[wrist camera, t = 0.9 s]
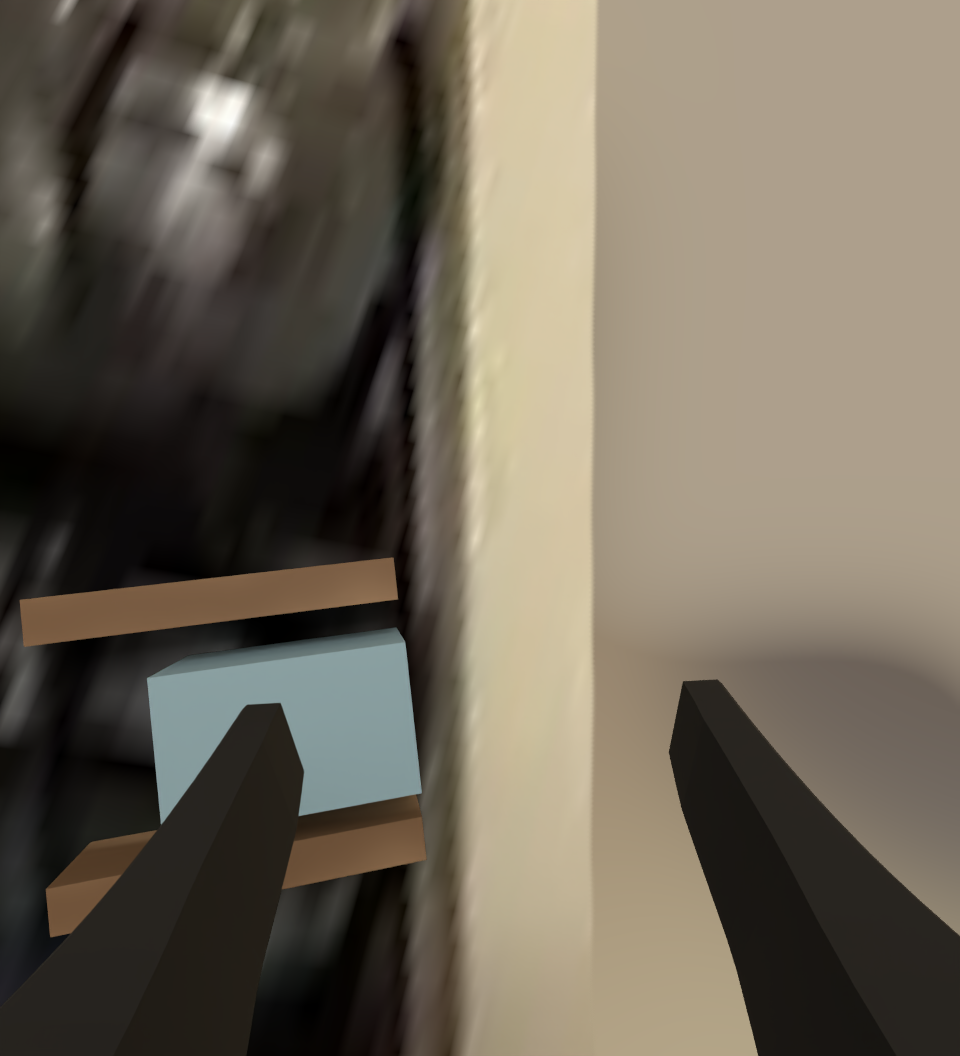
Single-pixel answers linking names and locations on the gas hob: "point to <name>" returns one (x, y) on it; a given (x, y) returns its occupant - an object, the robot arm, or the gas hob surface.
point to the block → (296, 715)
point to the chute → (323, 837)
